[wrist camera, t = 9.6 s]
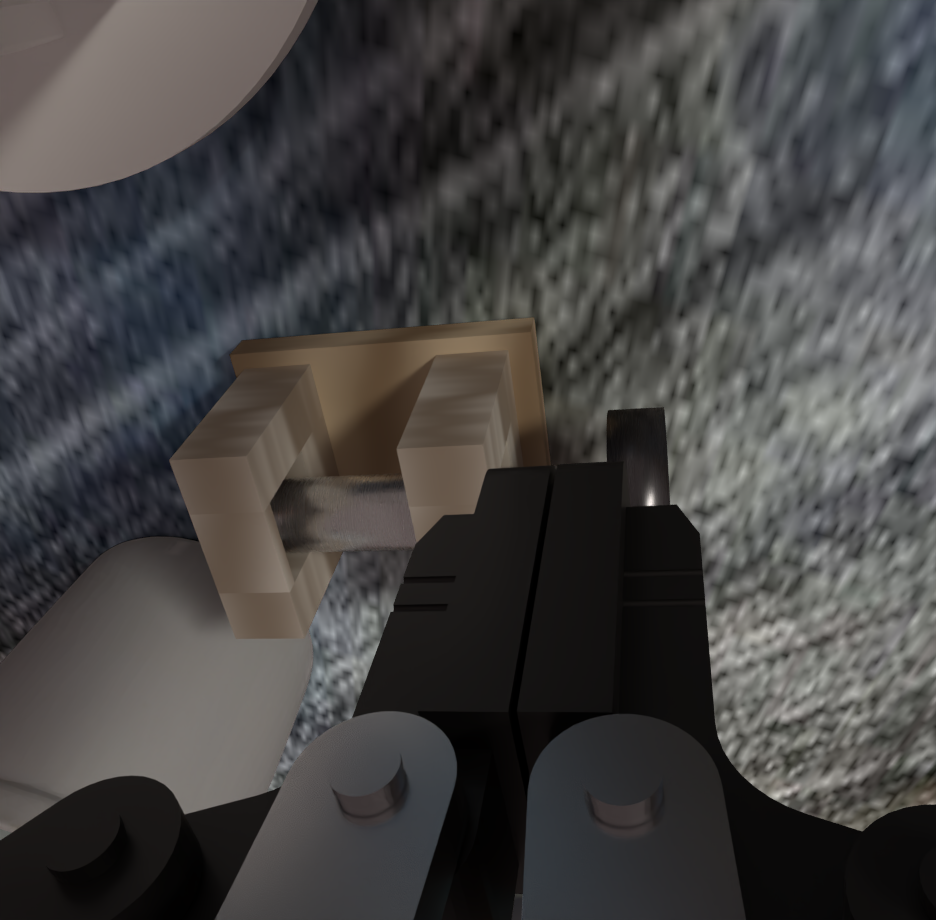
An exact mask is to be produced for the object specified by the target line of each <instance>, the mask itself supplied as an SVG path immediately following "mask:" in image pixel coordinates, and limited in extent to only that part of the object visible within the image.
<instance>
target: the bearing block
mask: <svg viewBox="0 0 936 920" xmlns="http://www.w3.org/2000/svg"><path fill="white" fill-rule="evenodd" d="M230 358H231V361H232V365H233V368H234V371H235V374H236V378H237V379H236V380H235V381H234V382H233V384H232V385H231V386H230V387H229V388H228V390H227V391H226V392H225V393H224V394H223V396H222V397H221V398H220V399H219V400H218V402H217V403H216V404H215V405H214V406H213V408H212V409H211V410H210V411H209V413H208V414H207V415H206V416H205V417H204V419H203V420H202V421H201V422H200V423H199V425H198V426H197V427H196V428H195V429H194V431H193V432H192V433H191V434H190V435H189V437H188V438H187V439H186V440H185V442H184V443H183V444H182V445H181V446H180V448H179V449H178V450H177V451H176V452H175V454H174V455H173V456H172V457H171V458H170V460H169V461H170V464H171V467H172V469H173V472H174V475H175V477H176V480H177V483H178V486H179V488H180V491H181V494H182V496H183V499H184V502H185V504H186V507H187V510H188V512H189V515H190V518H191V520H192V523H193V526H194V528H195V531H196V534H197V536H198V539H199V542H200V544H201V547H202V550H203V553H204V555H205V558H206V561H207V563H208V566H209V569H210V571H211V574H212V577H213V579H214V582H215V585H216V587H217V590H218V593H219V595H220V598H221V601H222V603H223V606H224V609H225V611H226V614H227V617H228V620H229V622H230V625H231V628H232V630H233V633H234V636H235V638H236V639H305V637H306V634H307V632H308V630H309V628H310V625H311V623H312V621H313V618H314V616H315V614H316V612H317V609H318V607H319V605H320V603H321V600H322V598H323V596H324V593H325V591H326V589H327V587H328V584H329V582H330V580H331V577H332V575H333V573H334V571H335V568H336V566H337V564H338V562H339V559H340V557H341V555H342V552H308V553H285V550H284V546H283V543H282V540H281V537H280V534H279V531H278V527H277V524H276V521H275V518H274V515H273V511H272V508H271V505H270V502H271V500H272V498H273V497H274V495H275V493H276V492H277V490H278V488H279V487H280V485H281V483H282V482H283V480H284V478H304V477H326V476H349V475H372V474H395V473H402V477H403V481H404V486H405V490H406V495H407V500H408V504H409V509H410V513H411V518H412V523H413V527H414V532H415V537H416V541H417V542H418V541H419V540H420V539H421V538H422V537H423V536H424V535H425V534H426V533H427V532H428V531H429V530H430V529H431V528H432V527H433V526H434V525H435V524H436V523H437V522H438V521H439V520H440V518H441V517H442V516H443V515H458V514H474V512H475V509H476V505H477V502H478V498H479V495H480V491H481V488H482V484H483V481H484V477H485V474H486V472H487V470H488V469H494V468H511V467H529V466H547V465H551V461H550V452H549V443H548V435H547V426H546V417H545V408H544V400H543V391H542V382H541V373H540V364H539V356H538V347H537V338H536V329H535V321H534V317H533V318H520V319H508V320H495V321H482V322H470V323H457V324H444V325H431V326H419V327H406V328H393V329H381V330H368V331H355V332H343V333H330V334H317V335H305V336H292V337H279V338H267V339H254V340H242V341H241V342H240V343H239V345H238V346H237V347H236V348H235V349H234V350H233V351H232V352H231V354H230Z"/></svg>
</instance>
